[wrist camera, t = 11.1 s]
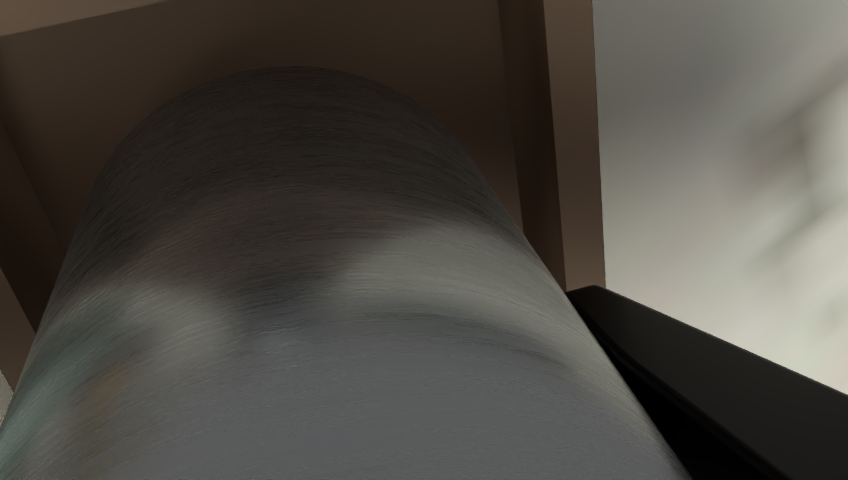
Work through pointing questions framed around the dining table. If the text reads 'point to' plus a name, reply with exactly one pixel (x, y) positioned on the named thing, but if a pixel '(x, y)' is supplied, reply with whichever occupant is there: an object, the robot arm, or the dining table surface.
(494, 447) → the cylinder
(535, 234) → the walnut pallet
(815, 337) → the dining table surface
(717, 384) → the robot arm
